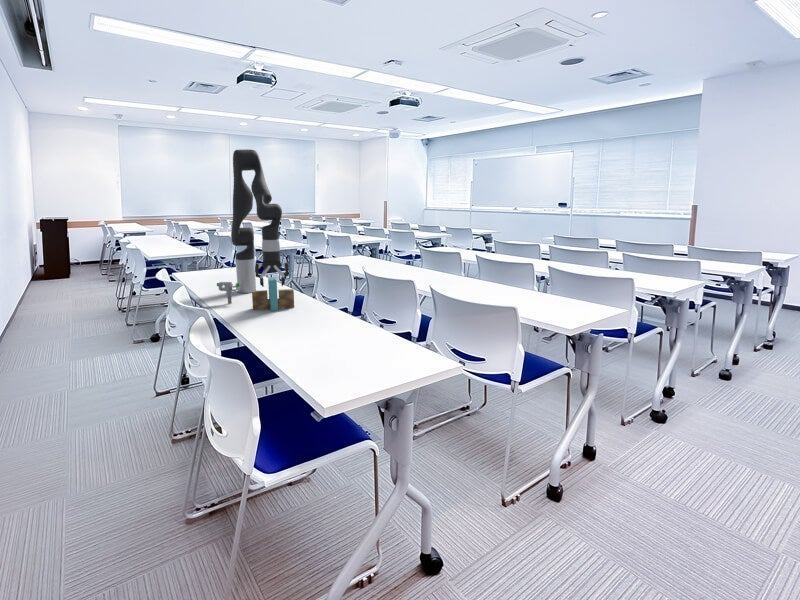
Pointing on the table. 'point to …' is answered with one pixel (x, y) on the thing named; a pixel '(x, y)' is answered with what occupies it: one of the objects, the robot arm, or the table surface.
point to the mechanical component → (228, 288)
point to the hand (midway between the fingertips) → (272, 285)
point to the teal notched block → (273, 293)
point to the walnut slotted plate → (263, 302)
